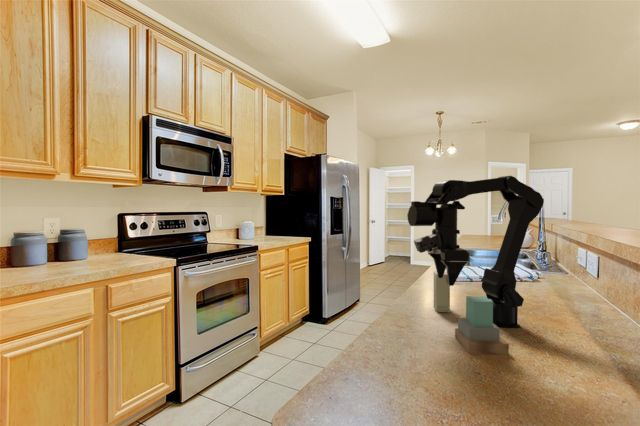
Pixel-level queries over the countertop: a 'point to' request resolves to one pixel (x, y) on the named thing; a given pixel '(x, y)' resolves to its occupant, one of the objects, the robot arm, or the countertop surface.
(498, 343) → the bottom block
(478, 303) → the pillar block
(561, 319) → the countertop surface
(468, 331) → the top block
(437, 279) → the skincare box
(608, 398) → the countertop surface
